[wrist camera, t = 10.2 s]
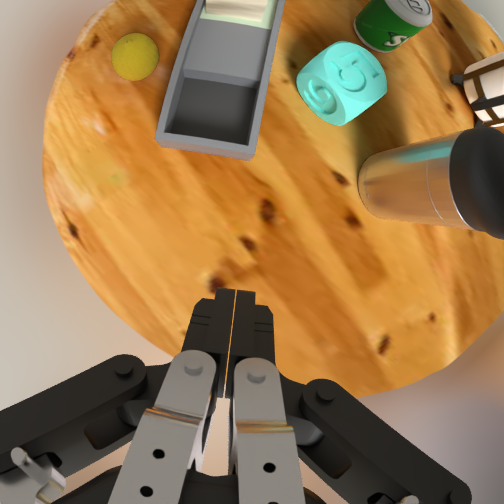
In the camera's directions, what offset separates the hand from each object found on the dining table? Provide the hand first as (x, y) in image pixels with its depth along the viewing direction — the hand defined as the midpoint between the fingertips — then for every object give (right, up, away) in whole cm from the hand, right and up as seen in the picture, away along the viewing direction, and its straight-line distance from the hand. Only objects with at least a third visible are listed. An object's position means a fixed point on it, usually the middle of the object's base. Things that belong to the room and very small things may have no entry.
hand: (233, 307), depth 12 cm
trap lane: (-2, +31, +20) cm, 37 cm away
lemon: (-13, +25, +19) cm, 34 cm away
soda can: (+19, +35, +22) cm, 45 cm away
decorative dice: (+11, +23, +23) cm, 34 cm away
